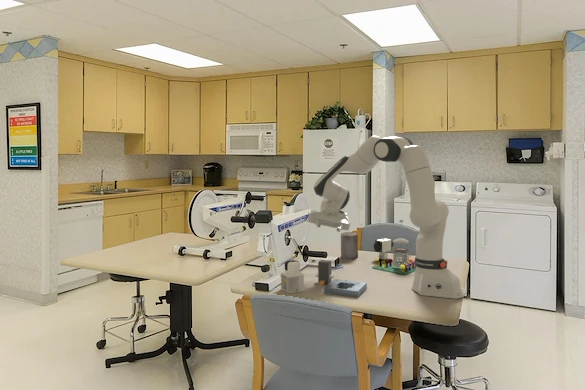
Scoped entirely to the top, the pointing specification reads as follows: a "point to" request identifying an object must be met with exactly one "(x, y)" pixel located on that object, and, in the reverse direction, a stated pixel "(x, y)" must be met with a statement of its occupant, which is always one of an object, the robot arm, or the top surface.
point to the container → (292, 277)
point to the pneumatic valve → (383, 247)
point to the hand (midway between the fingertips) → (328, 228)
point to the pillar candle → (349, 245)
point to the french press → (402, 250)
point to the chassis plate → (352, 287)
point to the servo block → (324, 272)
